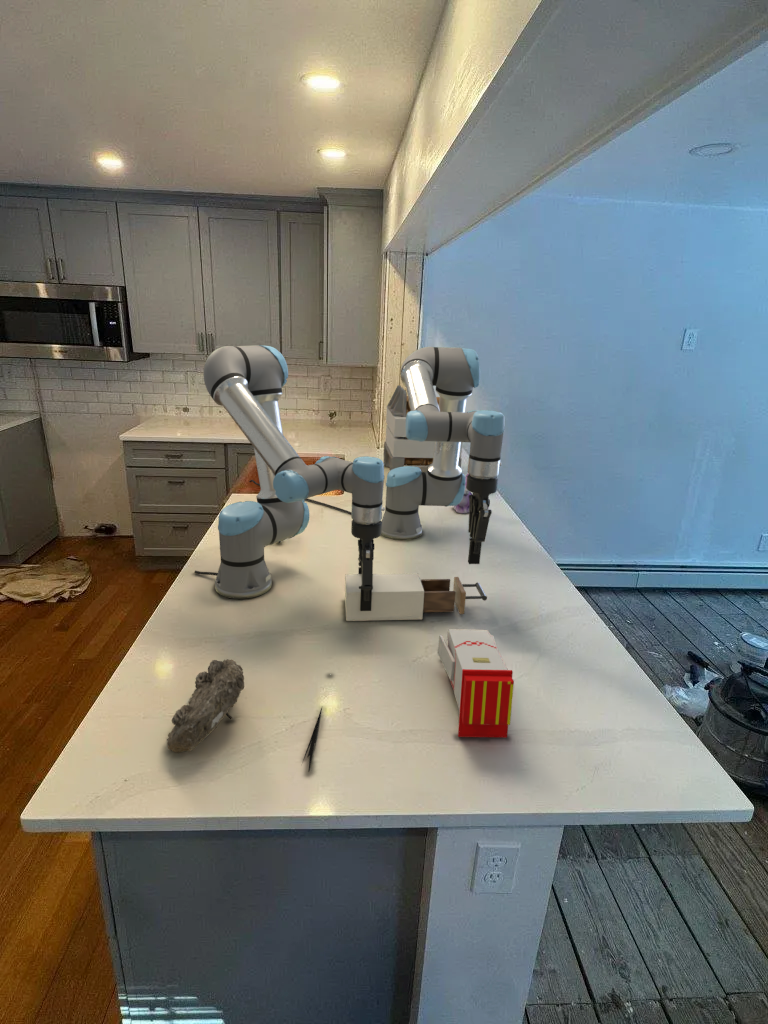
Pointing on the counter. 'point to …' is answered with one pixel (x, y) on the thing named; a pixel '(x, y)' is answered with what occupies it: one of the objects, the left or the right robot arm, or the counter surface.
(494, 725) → the toy
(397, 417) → the transformer
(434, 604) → the drawer
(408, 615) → the cabinet
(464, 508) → the figurine
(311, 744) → the feather
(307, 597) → the counter surface
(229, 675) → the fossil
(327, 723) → the counter surface
